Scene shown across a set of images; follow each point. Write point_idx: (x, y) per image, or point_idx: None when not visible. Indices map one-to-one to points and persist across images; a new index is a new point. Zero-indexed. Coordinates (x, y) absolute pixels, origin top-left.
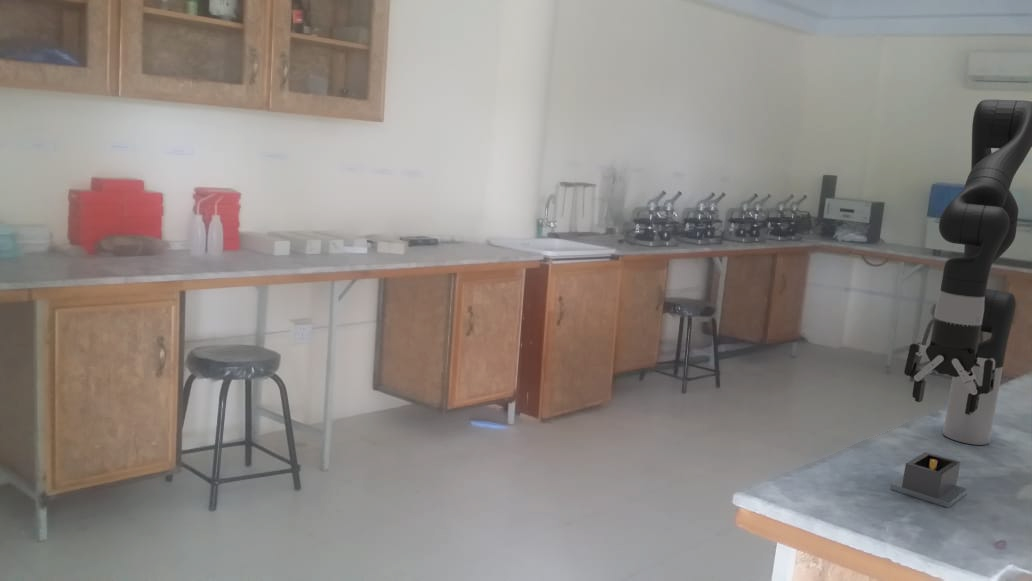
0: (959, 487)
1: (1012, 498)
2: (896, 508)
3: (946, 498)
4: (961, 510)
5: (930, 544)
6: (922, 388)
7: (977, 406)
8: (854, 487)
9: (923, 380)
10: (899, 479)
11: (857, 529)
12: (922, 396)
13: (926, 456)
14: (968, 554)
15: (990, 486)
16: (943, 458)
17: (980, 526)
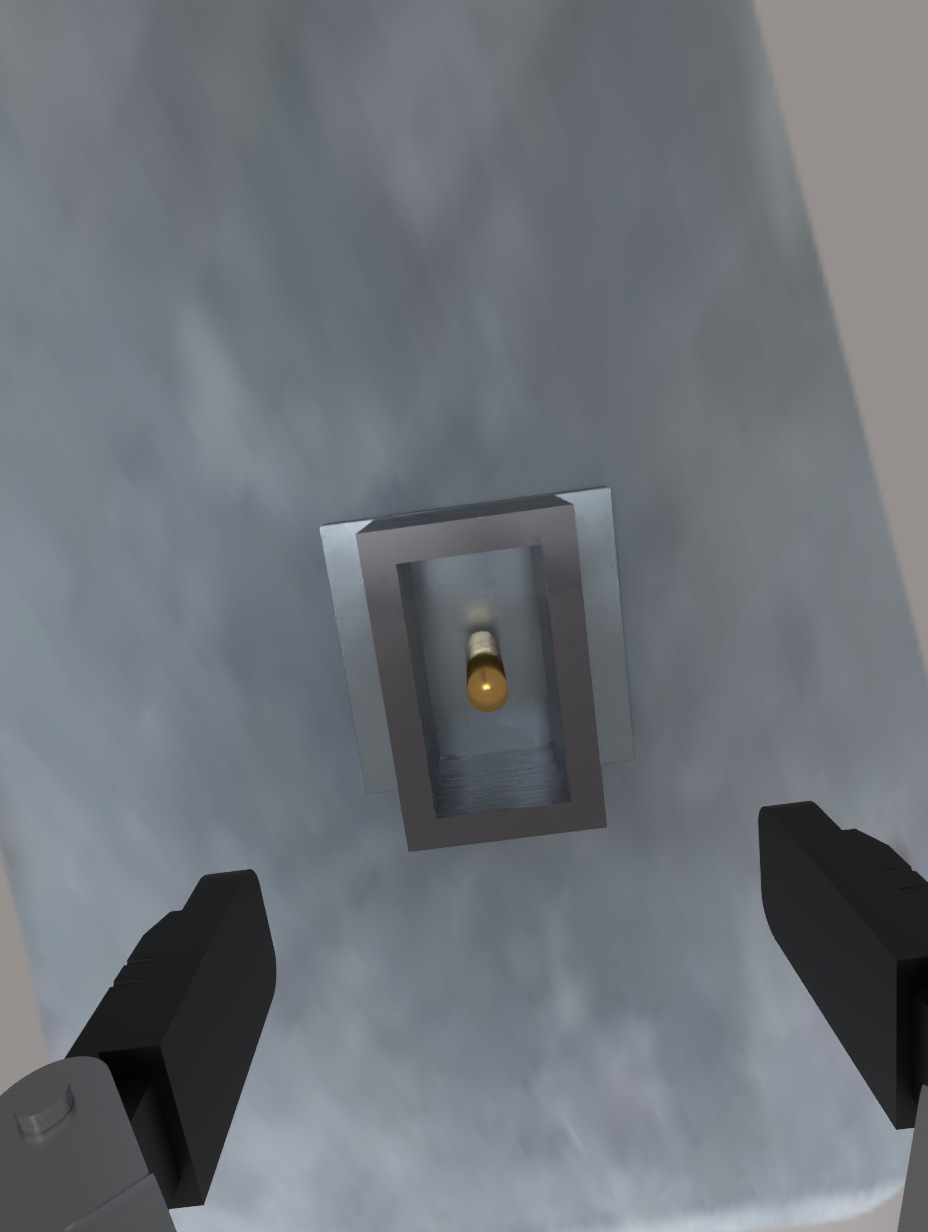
0: (576, 506)
1: (768, 278)
2: (495, 938)
3: (604, 722)
4: (669, 703)
5: (729, 1118)
6: (219, 1052)
7: (904, 871)
8: (270, 892)
9: (153, 1123)
10: (353, 699)
11: (516, 1221)
12: (242, 916)
13: (402, 604)
14: (848, 1080)
15: (626, 197)
16: (481, 543)
17: (788, 801)
